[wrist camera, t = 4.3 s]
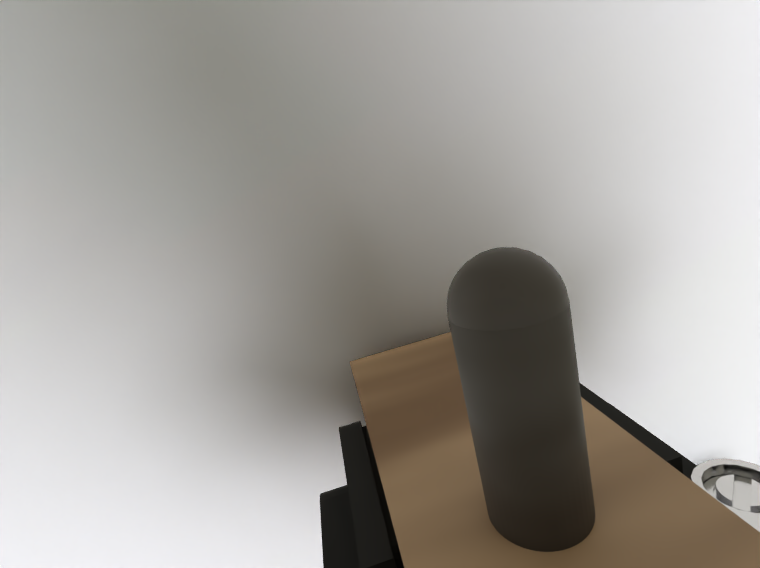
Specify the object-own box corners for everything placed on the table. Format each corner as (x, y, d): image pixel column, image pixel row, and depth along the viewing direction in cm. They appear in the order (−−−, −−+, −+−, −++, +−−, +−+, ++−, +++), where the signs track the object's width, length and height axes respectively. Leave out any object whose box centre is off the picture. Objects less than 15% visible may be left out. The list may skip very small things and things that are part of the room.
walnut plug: (313, 233, 11) (355, 412, 2) (459, 195, 11) (953, 226, 3) (390, 510, 13) (556, 1120, 5) (509, 470, 14) (864, 958, 5)
